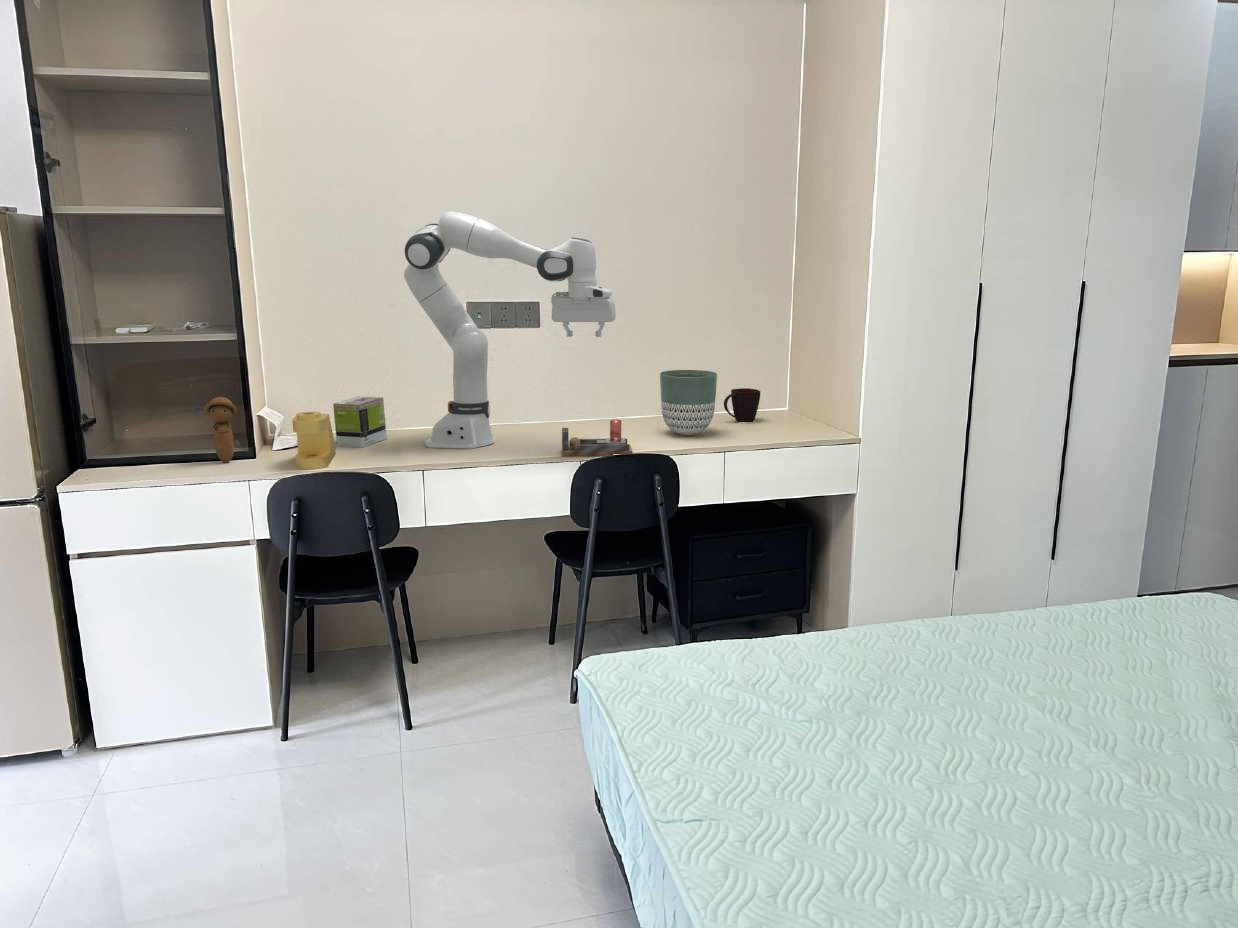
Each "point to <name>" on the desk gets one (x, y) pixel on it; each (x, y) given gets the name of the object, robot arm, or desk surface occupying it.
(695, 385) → the planter
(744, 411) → the cup
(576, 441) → the walnut ball
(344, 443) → the tea box
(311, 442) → the clamp
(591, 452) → the press bed
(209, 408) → the figurine
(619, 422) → the ram
